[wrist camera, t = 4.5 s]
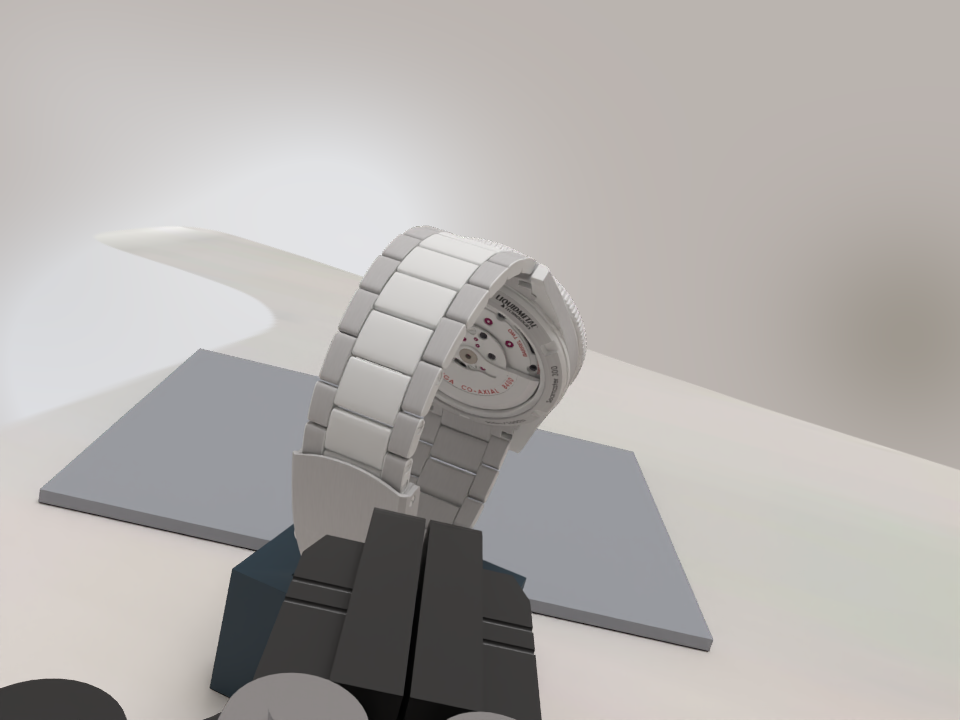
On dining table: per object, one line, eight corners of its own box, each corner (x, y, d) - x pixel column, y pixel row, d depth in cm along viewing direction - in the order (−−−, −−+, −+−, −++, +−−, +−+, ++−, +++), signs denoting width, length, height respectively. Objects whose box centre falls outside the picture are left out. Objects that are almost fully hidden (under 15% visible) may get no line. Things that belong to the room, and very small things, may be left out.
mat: (630, 459, 39) (633, 451, 38) (708, 651, 25) (713, 639, 25) (198, 356, 37) (199, 348, 37) (38, 501, 24) (39, 489, 24)
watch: (515, 641, 23) (634, 260, 20) (397, 862, 16) (557, 311, 13) (338, 565, 25) (424, 197, 21) (152, 734, 17) (241, 209, 14)
